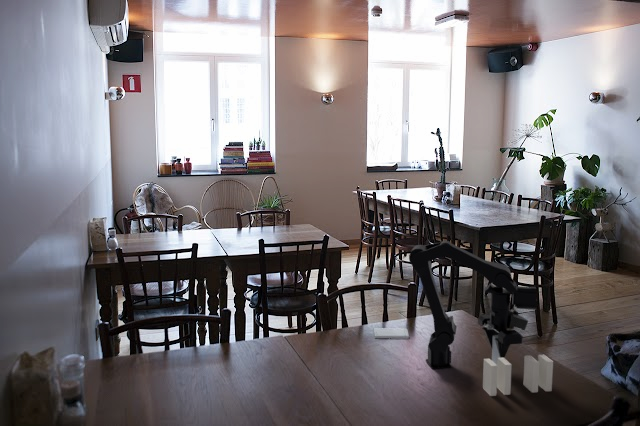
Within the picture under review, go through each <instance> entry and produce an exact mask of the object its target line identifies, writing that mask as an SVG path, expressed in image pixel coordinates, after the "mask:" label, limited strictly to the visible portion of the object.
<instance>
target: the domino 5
mask: <svg viewBox="0 0 640 426" xmlns="http://www.w3.org/2000/svg"><path fill="white" fill-rule="evenodd" d="M537 361H538V362H539V381H538V387H540V388H541V389H543V390H544V391H545V392H552V391H553V390H552V389H553V371H554V361H553V360H552V359H551V358H549V357H548V356H547V355H546V354H538V355H537Z"/></svg>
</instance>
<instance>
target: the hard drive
mask: <svg viewBox="0 0 640 426" xmlns="http://www.w3.org/2000/svg"><path fill="white" fill-rule="evenodd" d="M373 336H374V337H375V338H389V339H390V338H391V339H390V340H393V339H394V340H396V339H397V340H398V339H399V340H401V339H402V340H405V339H407V340H408V339H410V335H409V331H408V329H407V328H403V327H402V328H396V327H393V328H392V327H391V328H389V327H388V328H387V327H386V328H385V327H383V328H382V327H373ZM375 338H374V339H375Z"/></svg>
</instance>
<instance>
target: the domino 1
mask: <svg viewBox="0 0 640 426" xmlns="http://www.w3.org/2000/svg"><path fill="white" fill-rule="evenodd" d="M482 367H483V368H482V369H483V371H482V373H483V374H482V388H483V390H484V391H485V392H486V393H487V394H488V395H489V396H490V397H496V396H497V391H498V390H497V389H498V388H497V365H496V364H495V363H494V362H493V361H492V358H483V366H482Z"/></svg>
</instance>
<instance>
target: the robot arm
mask: <svg viewBox="0 0 640 426" xmlns="http://www.w3.org/2000/svg"><path fill="white" fill-rule="evenodd" d="M441 257H447V258H449V259H451V260H453V261H456V262H457V263H459V264H461V265H464V266H465V267H467V268H469V269H471V270H473V271H475V272H477V273H479V274H480V275H482V277H484V278H485V279H486V280H487V281H488V282H490V283H489V284H488V285H487V286H486V287H484V294H485V293H486V294H490V307H487V312H488V313H489V314H480V315H479V316H478V317H477V324H478V325H479V326H480V327H482V329H481V330H482V331H483V332H484V335H485V336H486V339H487V342H488V344H489V347H490V349H491V350H492V339H493V335H498V338H495V342H496V345H497V349H498V353H499V356H500V358H502V357H504V358H505V359H506V356H507V353H508V351H509V348H510V346H511V345H521V344H523V342H524V341H523V340H524V336H523V335H522V334H520V332H518V331H517V330H516V329H514V327H515V328H518V329H521V330H522V331H526V328H527V325H528V323H529V320H528V319H526V318H525V317H523V316H521V315H520V314H519V312H518V311H517V310H516V309H520V310H521V309H522V310H532V311H533V310H535V311H536V310H537V304H538V300H537V288H536V286H519V285H517V282H516V281H515V280H514V279H513V277H512V273H511V270H510V268H509V267H508V266H506V265H504V264H501V263H499V262H495V261H489V260H486V259H483V258H481V257H479V256H477V255H475V254H474V253H471V252H470V251H467V250H465V249H464V248H461V247H460V246H458V245H456V244H454V243H452V242H451V241H449V240H442V241H441V242H435V243H430V244H426V245H423V244H417V245H415V246H414V247H412V249H411V251H410V253H409V256H408V260H409V262H410V264H411V266H412V268H413V270H414V271H415V273H416V274H417V276H418V277H419V280H420V283H421V286H422V288H423V290H424V291H423V292H424V294H425V297H426V300H427V303H428V305H429V309H430V311H431V315H432V318H433V329H434V332H433V333H431V334H430V337H429V342H428V344H427V358H426V359H425V363H427V364H428V366H429V367H430V368H431V369H432V370H436V369H437V370H438V369H449V368H450V369H451V368H452V365H451V364H452V351H451V347H450V345H452V344H453V343H454V341H455V337H456V336H455V335H457V334H456V333H457V325H456V323H455V322H454V315H450V316H449V315H448V314H447V313H446V310H445V308H444V305H443V302H442V301H443V300H442V298H441V295H440V293H439V289H438V287H437V283H436V281H435V277H434V274H433V270H432V261H434V260H436V259H439V258H441ZM511 296H512V303H511ZM511 304H512V305H514V307H515V308H516V309H513V308H512V309H511ZM508 329H509V330H508Z"/></svg>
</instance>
